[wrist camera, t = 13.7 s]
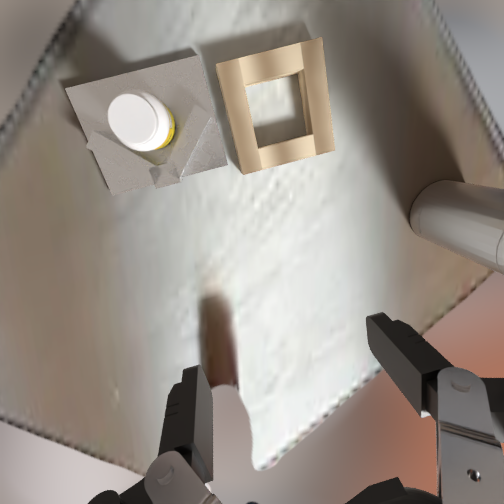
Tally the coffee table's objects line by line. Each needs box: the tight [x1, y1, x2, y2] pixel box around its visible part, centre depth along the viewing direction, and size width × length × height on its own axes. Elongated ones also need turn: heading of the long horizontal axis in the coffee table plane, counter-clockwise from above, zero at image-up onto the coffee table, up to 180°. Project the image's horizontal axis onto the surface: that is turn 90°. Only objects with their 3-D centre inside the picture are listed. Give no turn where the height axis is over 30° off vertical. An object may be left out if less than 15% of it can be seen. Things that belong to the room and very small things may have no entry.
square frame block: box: [216, 37, 335, 175], centre depth 34 cm, size 12×12×2 cm
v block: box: [65, 55, 228, 196], centre depth 32 cm, size 15×12×4 cm
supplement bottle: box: [107, 89, 176, 151], centre depth 28 cm, size 5×5×10 cm
